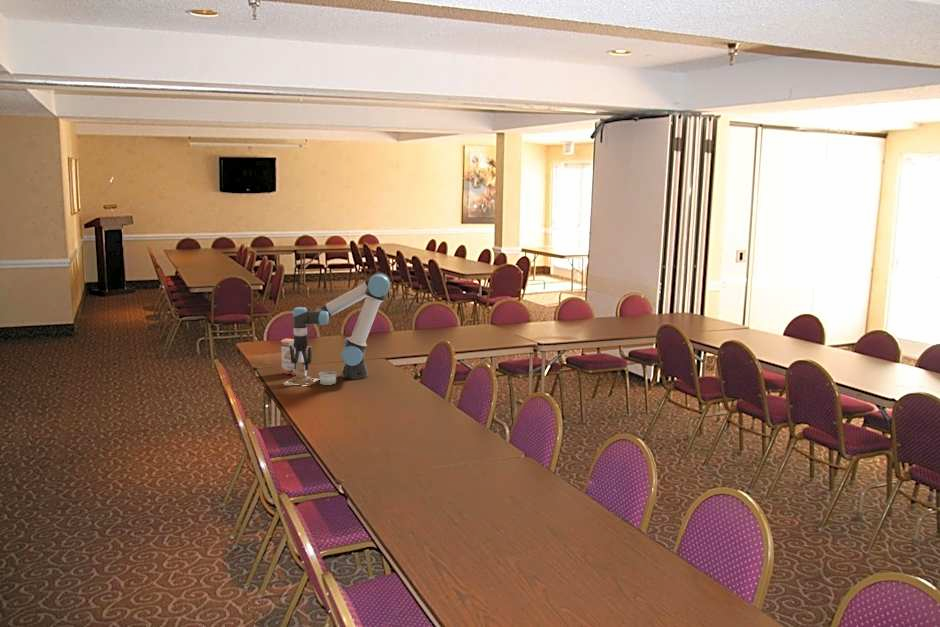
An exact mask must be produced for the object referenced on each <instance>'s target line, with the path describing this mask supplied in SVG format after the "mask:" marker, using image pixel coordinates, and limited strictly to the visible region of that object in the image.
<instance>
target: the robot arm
mask: <svg viewBox="0 0 940 627" xmlns="http://www.w3.org/2000/svg"><path fill="white" fill-rule="evenodd" d="M390 287H391V278H390V277H389V276H388V274H386V273H384V272H375V273H374V274H373V275H372V276H370V277H369V278H367V279H366V280H364V282H363V283H362V284H360V285H358V286H357V287H355V288H353V289H351V290H349V291H347V292H345V293H344V294H341V295H339V296H338V297H336V298H334V299H333V300H331V301H329V302H327V303H325V304H323V305H321V306H318V307H317V308H316V309H315V310H314V311H313V310H308V309H307V307H302V306H296V307H295V308H293V311H292V314H293V315H292V318H293V319H292V320H293V321H292V322H293V323H292V324H293V339H294V344H293V345H290V346H289V348H290V354H291V363H294V369H295V370H296V363H297V362H298V358H299V352H300V351H302V354H303V358H304V363H305V364H304V376H306V375H307V376H308V370H309V365H310V364H311V363H312V355H313V354H312V350H313V346H312V345H309V343H308V325H309V326H310V325H321V326H323V325H328V324H329V321H330V317H332V316H333V315H336V314H337V313H339V312H341V311H343V310H345V309H346V308H349V307H351V306H352V305H355V304H356V303H359V302H360V301H362V300H364V299H365V300H364V302H363V305H362V307H361V310H360V312H359V315H358V318H357V320H356V323H355V326H354V327H353V331H352V333H351V336H349V337H346V338H345V339H344V340H343V343H344V345H343V346H344V347H343V349H342V351H341V354H340V355H341V359H342V362H343V363H344V365H343V368H342V371H341V378H343V379H345V378H347V380H361V378H363V379H366V378H368V377H369V372H368V369H367V366H366V361H365V360H366V357H365V352H366V348H367V346H368V344H367V342H366V341H367V339H368V337H369V334H370V331H371V328H372V326H373V323H374V321H375V318H376V316H377V312H378V310H379V307H380V305H381V304H382V303H383V302H385V300H386V297H387V294H388V293H389V290H390ZM294 347H295V349H296V354H295V356H294Z"/></svg>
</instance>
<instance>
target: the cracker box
mask: <svg viewBox="0 0 940 627" xmlns="http://www.w3.org/2000/svg"><path fill="white" fill-rule="evenodd" d="M280 344H281V345H280V347H281V349H280V350H281V351H280V352H281V353H280V354H281V355H280V356H281V374H282V373H286V374H294V375H296V370H295V369H294V363H291V354H290V348H289V346H290V345H293V344H294V338H283V339H281V340H280ZM295 354H296V349H295V347H294V356H295ZM299 361H304V358H303V354H302V351H300V352H299V358H298V362H299ZM286 374H285V375H286ZM294 375H293V376H294Z"/></svg>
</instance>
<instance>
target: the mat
mask: <svg viewBox="0 0 940 627" xmlns="http://www.w3.org/2000/svg"><path fill="white" fill-rule="evenodd" d="M313 379H314V380H313V382H316V381H318V380H320V378H313ZM288 381H289V380H287V381H285V382H283V383H282V384H284V385H283V386H291V385H299V384H297V383H295V382H288ZM318 382H319V381H318ZM316 383H317V382H316ZM306 384H308V383H306ZM305 386H307V385H302V386H301V387H305Z"/></svg>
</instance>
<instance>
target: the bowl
mask: <svg viewBox="0 0 940 627" xmlns="http://www.w3.org/2000/svg"><path fill="white" fill-rule="evenodd" d="M337 375H338V373H337V371H333V370H325V371H320V372H318V376H319V379H320V381H319V384H320V385H322V384H323V385H332V384H334V385H335V384H336V383H337ZM323 385H322V386H323ZM332 386H333V385H332Z"/></svg>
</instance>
